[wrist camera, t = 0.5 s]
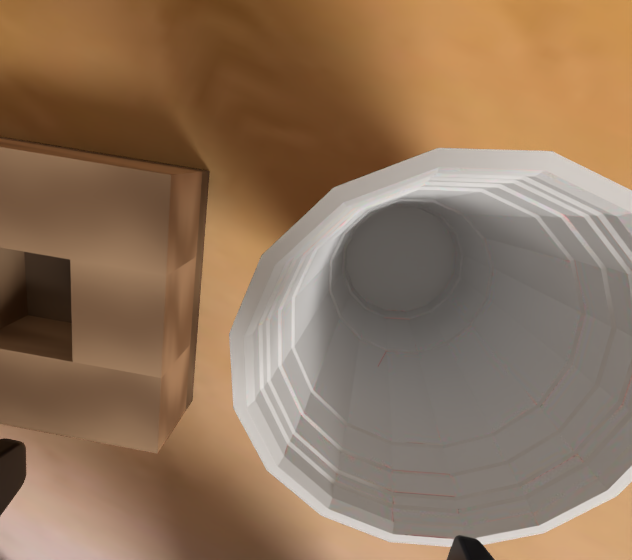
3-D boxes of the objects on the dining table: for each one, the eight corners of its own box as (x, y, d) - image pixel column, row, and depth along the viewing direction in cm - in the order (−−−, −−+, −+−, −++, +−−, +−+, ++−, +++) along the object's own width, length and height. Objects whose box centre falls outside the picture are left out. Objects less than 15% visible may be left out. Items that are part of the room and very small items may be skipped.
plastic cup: (311, 372, 23) (271, 587, 12) (274, 172, 20) (171, 194, 9) (517, 349, 22) (703, 567, 10) (509, 131, 19) (755, 93, 7)
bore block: (192, 400, 24) (157, 453, 20) (-24, 361, 25) (-103, 404, 20) (209, 170, 20) (170, 174, 16) (-46, 129, 21) (-150, 122, 17)
